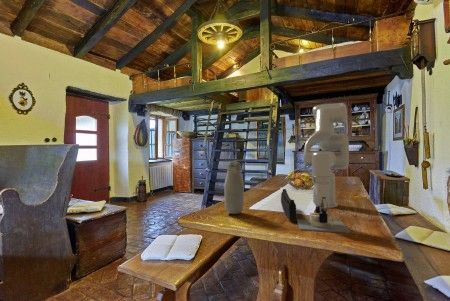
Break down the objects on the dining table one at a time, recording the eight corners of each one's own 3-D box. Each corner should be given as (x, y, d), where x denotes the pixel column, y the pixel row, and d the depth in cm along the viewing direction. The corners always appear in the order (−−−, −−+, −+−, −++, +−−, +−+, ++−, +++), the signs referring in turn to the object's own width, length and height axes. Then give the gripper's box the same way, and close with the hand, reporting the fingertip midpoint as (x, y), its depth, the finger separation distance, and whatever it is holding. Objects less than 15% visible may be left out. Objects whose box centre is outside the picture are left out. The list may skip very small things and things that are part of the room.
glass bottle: (222, 215, 123) (221, 161, 122) (229, 210, 132) (229, 160, 131) (239, 217, 119) (239, 162, 118) (246, 212, 128) (246, 160, 127)
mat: (296, 220, 113) (296, 219, 113) (340, 222, 109) (341, 221, 109) (299, 230, 100) (299, 228, 100) (350, 232, 96) (350, 231, 96)
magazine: (298, 205, 106) (287, 177, 134) (290, 205, 106) (281, 177, 135) (295, 237, 111) (286, 204, 140) (288, 237, 112) (280, 203, 140)
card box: (331, 223, 106) (331, 213, 106) (333, 227, 101) (333, 216, 101) (309, 222, 108) (309, 212, 108) (311, 226, 103) (311, 215, 103)
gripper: (309, 177, 113) (309, 213, 114) (316, 182, 96) (316, 225, 97) (325, 177, 112) (325, 214, 112) (335, 183, 95) (335, 226, 95)
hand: (321, 219), depth 105 cm, fingers open, 7 cm apart
